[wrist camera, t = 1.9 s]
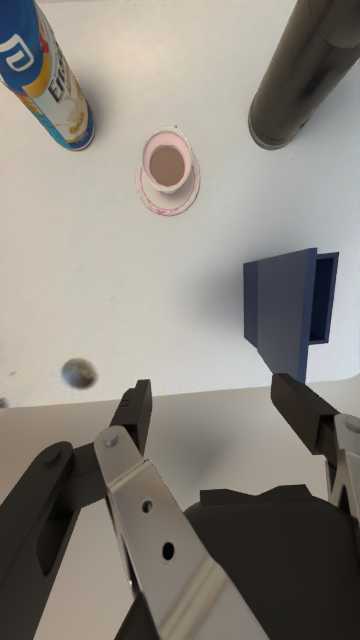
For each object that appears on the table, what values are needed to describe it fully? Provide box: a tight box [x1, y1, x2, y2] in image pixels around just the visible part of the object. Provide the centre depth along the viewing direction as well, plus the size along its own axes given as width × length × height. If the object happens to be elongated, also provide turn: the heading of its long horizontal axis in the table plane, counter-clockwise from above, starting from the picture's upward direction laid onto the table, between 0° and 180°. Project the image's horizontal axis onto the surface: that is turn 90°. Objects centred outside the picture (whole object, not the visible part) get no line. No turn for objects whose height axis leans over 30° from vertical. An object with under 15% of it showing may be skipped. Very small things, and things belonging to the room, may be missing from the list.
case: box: [243, 252, 339, 348], centre depth 35 cm, size 14×17×7 cm
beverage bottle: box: [0, 0, 95, 150], centre depth 20 cm, size 8×8×20 cm
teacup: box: [135, 125, 200, 216], centre depth 29 cm, size 12×12×6 cm
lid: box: [257, 248, 317, 384], centre depth 24 cm, size 14×17×1 cm
